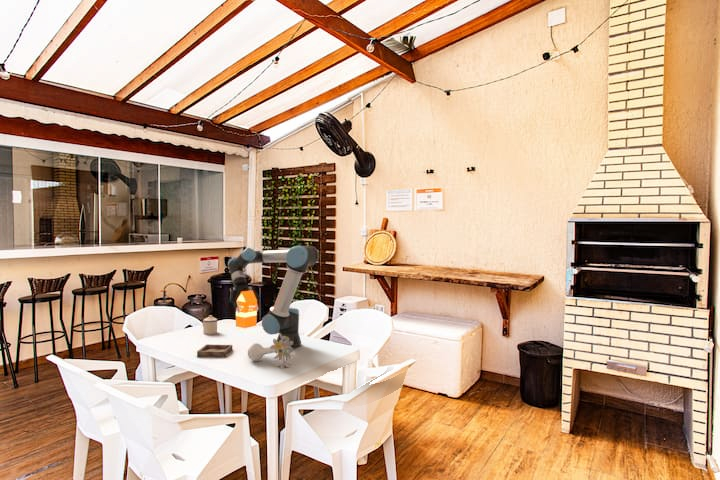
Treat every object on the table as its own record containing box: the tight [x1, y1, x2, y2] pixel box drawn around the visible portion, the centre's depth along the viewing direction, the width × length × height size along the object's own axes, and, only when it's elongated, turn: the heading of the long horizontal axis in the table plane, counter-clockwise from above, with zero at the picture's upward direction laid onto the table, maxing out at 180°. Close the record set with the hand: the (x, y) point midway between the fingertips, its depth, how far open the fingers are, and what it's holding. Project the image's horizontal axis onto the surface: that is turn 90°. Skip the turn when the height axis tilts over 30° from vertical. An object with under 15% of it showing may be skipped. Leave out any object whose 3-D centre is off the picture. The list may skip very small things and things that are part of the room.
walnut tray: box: [196, 343, 233, 358], centre depth 233 cm, size 15×14×3 cm
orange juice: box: [235, 290, 258, 329], centre depth 237 cm, size 8×9×20 cm
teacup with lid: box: [202, 314, 218, 335], centre depth 280 cm, size 12×9×12 cm
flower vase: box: [247, 333, 295, 369], centre depth 218 cm, size 13×18×25 cm
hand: (248, 311), depth 234 cm, fingers closed on orange juice, 10 cm apart
